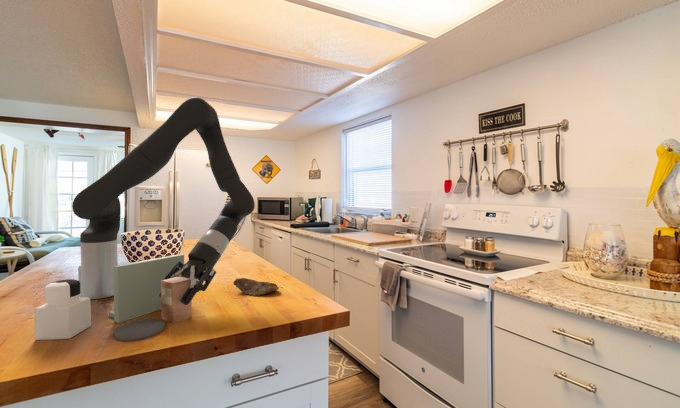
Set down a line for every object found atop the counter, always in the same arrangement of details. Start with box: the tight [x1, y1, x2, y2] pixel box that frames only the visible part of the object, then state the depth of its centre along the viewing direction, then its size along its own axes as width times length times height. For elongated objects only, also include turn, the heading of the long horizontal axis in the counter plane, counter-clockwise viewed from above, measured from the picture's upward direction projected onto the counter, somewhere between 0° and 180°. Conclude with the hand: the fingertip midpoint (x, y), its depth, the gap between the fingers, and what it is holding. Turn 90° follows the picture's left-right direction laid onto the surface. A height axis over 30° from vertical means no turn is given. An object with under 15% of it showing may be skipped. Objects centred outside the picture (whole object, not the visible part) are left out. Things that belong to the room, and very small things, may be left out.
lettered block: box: [160, 276, 193, 324], centre depth 82 cm, size 5×5×10 cm
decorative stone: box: [233, 277, 280, 297], centre depth 104 cm, size 10×4×15 cm
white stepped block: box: [33, 278, 92, 341], centre depth 73 cm, size 7×7×12 cm
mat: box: [113, 317, 166, 342], centre depth 74 cm, size 10×10×1 cm
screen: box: [107, 253, 185, 324], centre depth 88 cm, size 18×7×14 cm, turn 152°
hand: (172, 300), depth 81 cm, fingers open, 8 cm apart
